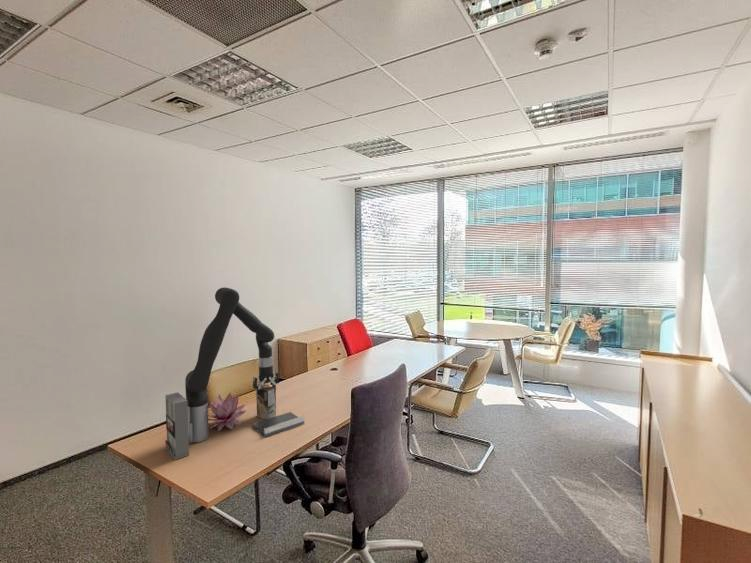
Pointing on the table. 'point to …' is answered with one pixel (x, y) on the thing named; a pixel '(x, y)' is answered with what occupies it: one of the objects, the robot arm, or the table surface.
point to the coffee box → (266, 402)
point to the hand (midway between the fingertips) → (266, 393)
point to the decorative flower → (225, 412)
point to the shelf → (278, 424)
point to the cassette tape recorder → (177, 425)
